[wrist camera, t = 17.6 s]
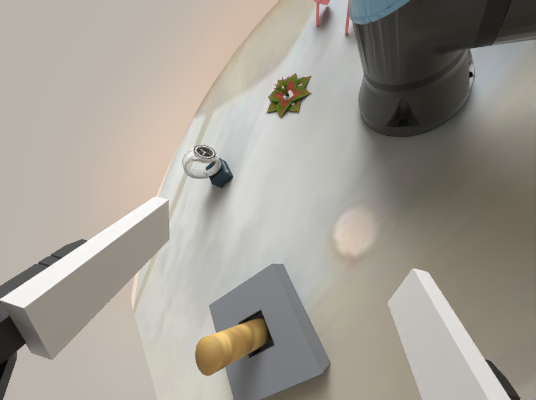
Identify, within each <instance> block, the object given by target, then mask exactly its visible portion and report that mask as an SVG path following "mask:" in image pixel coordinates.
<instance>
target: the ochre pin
mask: <svg viewBox="0 0 536 400" xmlns="http://www.w3.org/2000/svg"><path fill="white" fill-rule="evenodd" d="M272 340H273V339H272V337H271V334H270V332H269V329H268V326H267V324H266V321H265V318H264V316H262V317H259V318H257V319H254V320H251V321H248V322H245V323H243V324H240V325H237V326H234V327H231V328H229V329H226V330H223V331H220V332H217V333H215V334H212V335H209V336H206V337H204V338H202V339H201V340H200V341H199V342H198V344H197V347H196V352H195V358H196V363H197V366H198V369H199V370H200V372H201V373H202V374H204V375H206V376H209V375H212V374H213V373H215V372H217V371H219V370H221V369H222V368H224V367H226V366H228V365H229V364H231V363H233V362H235V361H236V360H238V359H240V358H242V357H244V356H245V355H247V354H249V353H251V352H252V351H254V350H256V349H258V348H259V347H261V346H263V345H265V344H267V343H268V342H270V341H272Z"/></svg>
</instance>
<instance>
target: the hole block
mask: <svg viewBox="0 0 536 400" xmlns="http://www.w3.org/2000/svg"><path fill="white" fill-rule="evenodd" d="M209 307H210V311H211V315H212V319H213V322H214V326H215V330H216V333H217V332H220V331H223V330H226V329H229V328H231V327H234V326H237V325H240V324H243V323H245V322H248V321H251V320H254V319H257V318H259V317H262V316H264V318H265V321H266V324H267V326H268V329H269V332H270V334H271V337H272V339H273V340H272V341H270V342H268V343H267V344H265V345H263V346H261V347H259V348H258V349H256V350H254V351H252V352H251V353H249V354H247V355H245V356H244V357H242V358H240V359H238V360H236V361H235V362H233V363H231V364H229V365H228V366H226V371H227V375H228V379H229V382H230V386H231V390H232V393H233V397H234V400H261V399H263V398H266V397H268V396H270V395H273V394H275V393H278V392H280V391H282V390H285V389H287V388H289V387H292V386H294V385H297V384H299V383H301V382H304V381H306V380H309V379H311V378H313V377H316V376H318V375H320V374H322V373H323V372H324V370H325V369H326V368H327V367H328V365H329V364H330V361H329V359H328V357H327V355H326V353H325V351H324V349H323V347H322V344H321V342H320V340H319V338H318V336H317V334H316V332H315V330H314V328H313V326H312V324H311V322H310V320H309V317H308V315H307V313H306V311H305V309H304V307H303V305H302V303H301V301H300V299H299V297H298V295H297V292H296V290H295V288H294V286H293V284H292V282H291V280H290V278H289V276H288V274H287V272H286V270H285V267H284V265H283V264H271V265H270V266H268V267H267V268H265V269H264V270H262V271H261V272H259V273H257V274H256V275H254V276H253V277H251V278H250V279H248V280H247V281H245V282H244V283H242V284H241V285H239V286H238V287H236V288H235V289H233V290H232V291H230V292H229V293H227V294H226V295H224V296H223V297H221V298H220V299H218V300H217V301H215V302H214V303H212V304H210V305H209Z"/></svg>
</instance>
